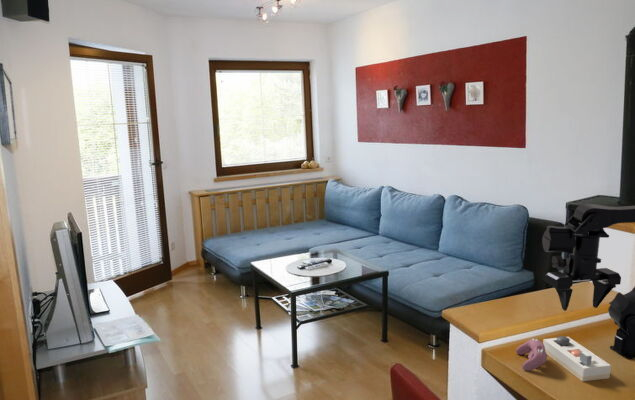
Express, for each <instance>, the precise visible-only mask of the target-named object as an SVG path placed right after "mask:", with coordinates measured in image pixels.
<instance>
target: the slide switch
mask: <svg viewBox="0 0 635 400" xmlns="http://www.w3.org/2000/svg"><path fill="white" fill-rule="evenodd" d="M591 359H592V356H591V355H589V354H588V353H586V352H580V361H581V362H582V365H583V366H585V365H591Z"/></svg>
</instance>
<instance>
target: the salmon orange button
mask: <svg viewBox="0 0 635 400" xmlns="http://www.w3.org/2000/svg"><path fill="white" fill-rule="evenodd" d="M580 352H582V351H580V350H571V354H572V355H574V356H575V357H580Z"/></svg>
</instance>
